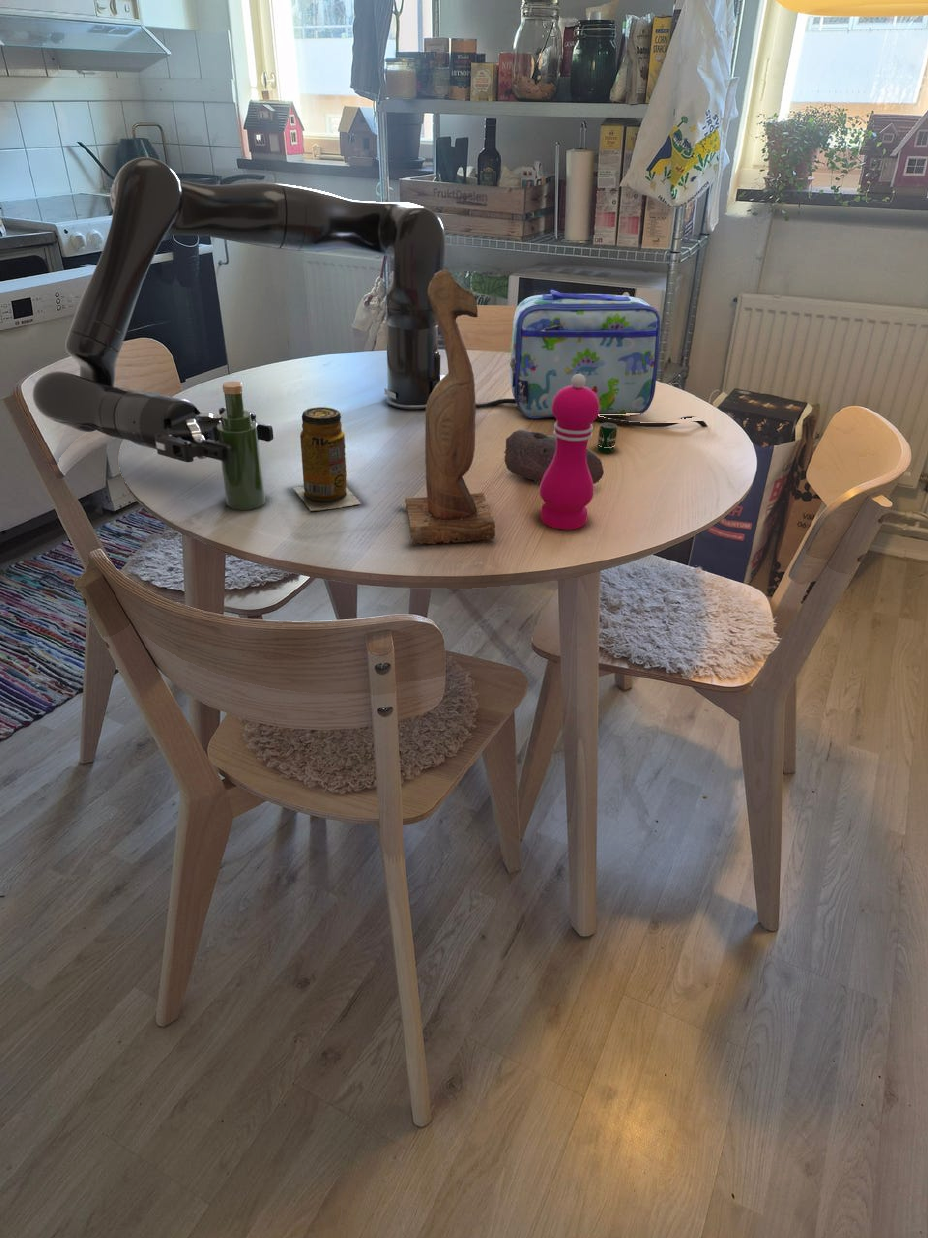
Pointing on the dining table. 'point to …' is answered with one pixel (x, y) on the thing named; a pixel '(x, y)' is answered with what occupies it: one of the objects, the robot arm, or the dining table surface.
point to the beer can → (607, 437)
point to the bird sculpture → (450, 433)
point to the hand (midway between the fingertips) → (251, 443)
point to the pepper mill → (570, 458)
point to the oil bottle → (240, 452)
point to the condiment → (324, 461)
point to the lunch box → (584, 351)
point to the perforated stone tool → (539, 455)
